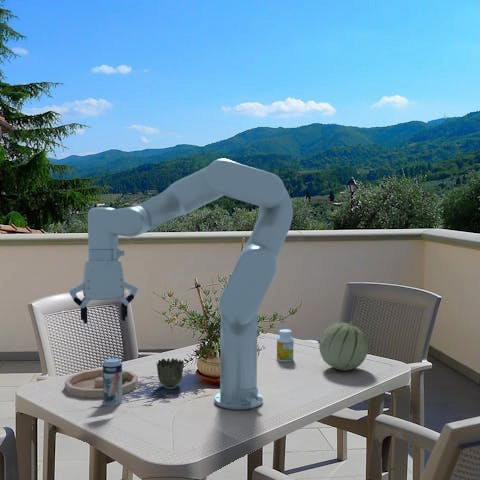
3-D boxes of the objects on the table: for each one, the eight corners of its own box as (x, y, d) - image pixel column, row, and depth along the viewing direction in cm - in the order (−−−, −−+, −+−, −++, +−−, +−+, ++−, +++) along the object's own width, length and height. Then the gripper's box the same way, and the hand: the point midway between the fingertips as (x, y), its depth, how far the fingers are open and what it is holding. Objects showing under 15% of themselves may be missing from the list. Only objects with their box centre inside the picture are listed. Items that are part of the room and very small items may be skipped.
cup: (179, 395, 164) (178, 366, 163) (153, 393, 165) (152, 364, 164) (187, 386, 171) (186, 358, 170) (161, 384, 172) (161, 357, 172)
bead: (129, 384, 169) (129, 371, 169) (117, 386, 167) (116, 373, 167) (124, 381, 172) (124, 368, 172) (112, 383, 170) (112, 370, 170)
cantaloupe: (309, 368, 189) (309, 321, 188) (339, 360, 198) (340, 314, 197) (346, 379, 178) (347, 329, 177) (377, 370, 187) (378, 322, 186)
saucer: (147, 393, 165) (147, 382, 165) (78, 406, 155) (78, 394, 155) (122, 375, 181) (122, 365, 181) (57, 385, 171) (57, 375, 171)
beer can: (99, 408, 154) (98, 361, 153) (110, 402, 158) (109, 356, 157) (115, 410, 152) (115, 363, 151) (126, 404, 157) (125, 358, 156)
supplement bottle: (275, 357, 201) (275, 328, 200) (291, 357, 202) (291, 328, 201) (278, 362, 196) (278, 332, 195) (294, 362, 196) (295, 332, 195)
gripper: (134, 253, 163) (135, 316, 164) (67, 255, 157) (68, 320, 158) (139, 256, 156) (140, 321, 157) (69, 258, 150) (71, 326, 151)
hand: (104, 321), depth 158 cm, fingers open, 9 cm apart
